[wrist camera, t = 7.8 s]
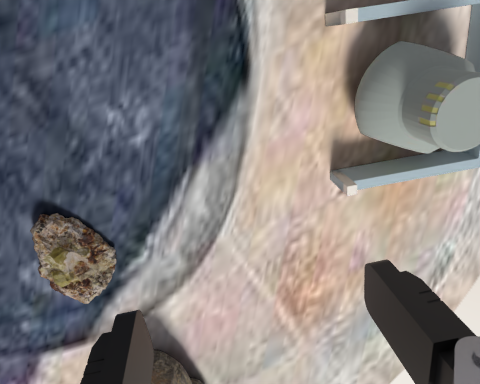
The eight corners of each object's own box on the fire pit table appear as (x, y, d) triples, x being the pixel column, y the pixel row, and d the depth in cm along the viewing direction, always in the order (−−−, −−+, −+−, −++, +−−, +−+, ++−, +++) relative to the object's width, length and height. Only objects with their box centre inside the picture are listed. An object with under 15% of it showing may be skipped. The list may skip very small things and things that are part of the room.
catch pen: (325, 13, 30) (345, 9, 26) (484, -10, 31) (527, -18, 27) (330, 179, 37) (347, 196, 33) (461, 155, 38) (493, 169, 34)
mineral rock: (134, 286, 37) (60, 326, 35) (131, 268, 41) (64, 303, 39) (82, 201, 33) (-5, 242, 31) (84, 190, 37) (7, 225, 35)
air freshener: (332, 122, 34) (382, 150, 25) (365, 35, 32) (435, 32, 22) (422, 147, 37) (498, 181, 28) (461, 68, 34) (559, 78, 25)
